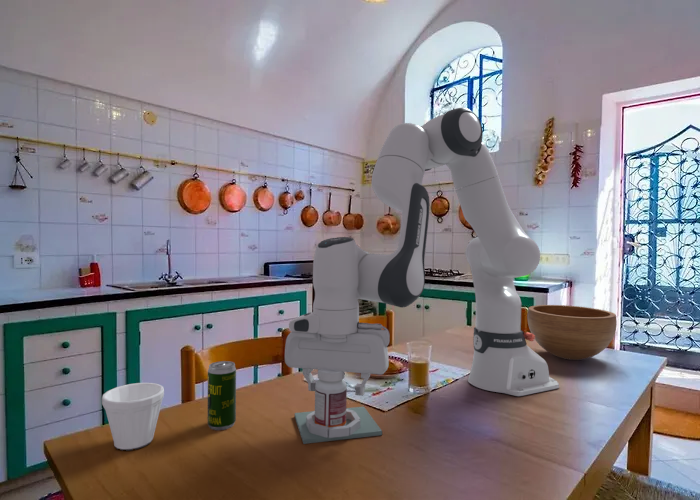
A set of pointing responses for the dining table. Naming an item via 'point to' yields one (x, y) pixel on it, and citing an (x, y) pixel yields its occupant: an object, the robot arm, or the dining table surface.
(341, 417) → the pill bottle
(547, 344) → the bowl
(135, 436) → the cup
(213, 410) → the green soda can
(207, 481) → the dining table surface
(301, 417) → the collar board
